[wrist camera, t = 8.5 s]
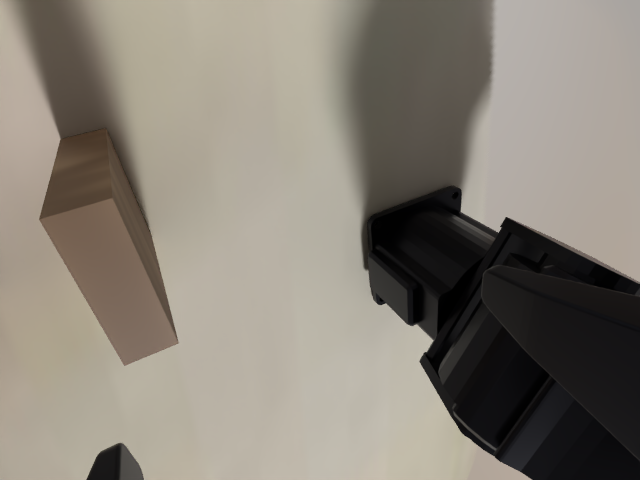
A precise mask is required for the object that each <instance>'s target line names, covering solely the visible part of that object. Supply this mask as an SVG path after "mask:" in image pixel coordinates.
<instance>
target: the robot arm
mask: <svg viewBox="0 0 640 480" xmlns="http://www.w3.org/2000/svg"><path fill="white" fill-rule="evenodd" d="M453 193H454V194H453ZM452 195H453V196H452ZM461 196H462V192H461V189H460V188H458V187H456V186H450V187H447V188H444V189H442V190H439V191H436V192H434V193H431V194H428V195H426V196H423V197H420V198H418V199H415V200H412V201H409V202H407V203H404V204H401V205H399V206H396V207H393V208H391V209H388V210H385V211H383V212H380V213H377V214H375V215H373V216H371V217H370V218H369V220H368V222H367V230H368V242H369V253H368V268H369V280H370V287H371V288H372V292H373V299H374V301H375V302H376V303H377V304H378V305H383V304H385V303H387V304H388V305H389V306H390V307H391V308H392V309H393V310H394V311H395V312H396V314H397V315H398V316H399V317H400V318H401V319H402V320H403V321H404V322H405V323H406V324H408V325H410V326H414V325H416V324H417V325H418V326H419V327H420V328H421V329H422V330H424V331H425V332H426V333H427V334H428V335H429V336H430V337H431V338H432V339H433V340H434V341H433V343H432V344H431V346H430V348H429V349H428V351H427V352H425V353H424V354H423V356H422V358H421V359H420V363H421V365H422V367H423V368H424V370H425V372H426V374H427V375H428V377H429V379H430V381H431V382H432V384H433V386H434V388H435V389H436V391H437V393H438V394H439V396H440V398H441V400H442V401H443V403H444V405H445V407H446V408H447V410H448V412H449V414H450V415H451V417H452V419H453V420H454V421H455V423H456V424H457V426H458V428H459V429H460V431H461V432H462V434H464V435H465V436H466V437H468V438H470V439H471V440H472V441H473V442H474V443H475V444H477V445H478V446H479V447H481V448H482V449H483V450H485V451H487V452H488V453H490V454H491V455H493V456H495V458H496V459H498V460H499V461H500V462H502V463H504V464H506V465H508V466H510V467H512V468H514V469H516V470H518V471H520V472H522V473H523V474H525V475H526V476H528V477H529V478H531V479H532V480H640V282H638V281H636V280H634V279H632V278H630V277H628V276H627V275H625V274H622V273H621V272H619V271H617V270H615V269H614V268H611V267H610V266H608V265H606V264H604V263H602V262H600V261H598V260H597V259H595V258H593V257H591V256H589V255H587V254H585V253H583V252H581V251H578V250H577V249H575V248H572V247H570V246H568V245H566V244H564V243H562V242H560V241H558V240H556V239H554V238H552V237H550V236H548V235H545V234H543V233H541V232H539V231H536V230H534V229H532V228H530V227H527V226H525V225H523V224H521V223H519V222H516V221H514V220H512V219H510V218H507V217H506V218H505V220H504V221H503V223H502V225H501V226H500V227H502V228H501V230H500V232H499V233H498V232H496V231H494V230H492V229H490V228H489V227H487V226H485V225H483V224H481V223H480V222H478V221H476V220H474V219H472V218H470V217H469V216H467V215H465V214H463V213H461ZM376 222H378V224H377V225H376V226H375V223H376ZM380 297H381V298H380ZM87 480H144V478H143V474H142V470H141V468H140V466H139V464H138V462H137V461H136V460H135V458H134V457H133V456H132V454H131V453H130V451H129V450H128V449H127V447H126V446H125V445H124V444H123V443H118V444H116V445H113V446H111V447H109V448H107V449H105V450H103V451H101V452H100V453H99V454H98V456H97V457H96V459H95V462H94V464H93V466H92V468H91V471H90V473H89V475H88V477H87Z"/></svg>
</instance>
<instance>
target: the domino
mask: <svg viewBox="0 0 640 480" xmlns="http://www.w3.org/2000/svg"><path fill="white" fill-rule="evenodd" d="M39 220H40V222H41V223H42V225H43V227H44V228H45V230H46V232H47V234H48V235H49V237H50V239H51V240H52V242H53V244H54V246H55V247H56V249H57V251H58V252H59V254H60V256H61V258H62V259H63V261H64V263H65V265H66V266H67V268H68V270H69V271H70V273H71V275H72V277H73V278H74V280H75V282H76V283H77V285H78V287H79V289H80V290H81V292H82V294H83V295H84V297H85V299H86V301H87V302H88V304H89V306H90V307H91V309H92V311H93V313H94V314H95V316H96V318H97V320H98V321H99V323H100V325H101V326H102V328H103V330H104V332H105V333H106V335H107V337H108V338H109V340H110V342H111V344H112V345H113V347H114V349H115V350H116V352H117V354H118V356H119V357H120V359H121V361H122V363H123V364H124V366H125V365H128V364H130V363H132V362H135V361H137V360H140V359H142V358H145V357H147V356H149V355H152V354H154V353H157V352H159V351H161V350H164V349H166V348H169V347H171V346H173V345H176V344H178V339H177V335H176V331H175V327H174V323H173V319H172V315H171V311H170V307H169V303H168V299H167V295H166V291H165V287H164V283H163V279H162V275H161V272H160V268H159V264H158V260H157V256H156V252H155V248H154V244H153V240H152V236H151V234H150V232H149V229H148V227H147V225H146V222H145V220H144V217H143V215H142V213H141V210H140V208H139V206H138V203H137V201H136V198H135V196H134V194H133V191H132V189H131V187H130V184H129V182H128V179H127V177H126V175H125V172H124V170H123V168H122V165H121V163H120V160H119V158H118V156H117V153H116V151H115V149H114V146H113V144H112V141H111V139H110V137H109V134H108V132H107V130H106V128H104V129H100V130H96V131H92V132H88V133H83V134H79V135H75V136H71V137H67V138H63V139H61V140H60V144H59V147H58V151H57V155H56V159H55V162H54V166H53V170H52V174H51V177H50V181H49V185H48V189H47V192H46V196H45V200H44V204H43V207H42V211H41V215H40V219H39Z"/></svg>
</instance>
